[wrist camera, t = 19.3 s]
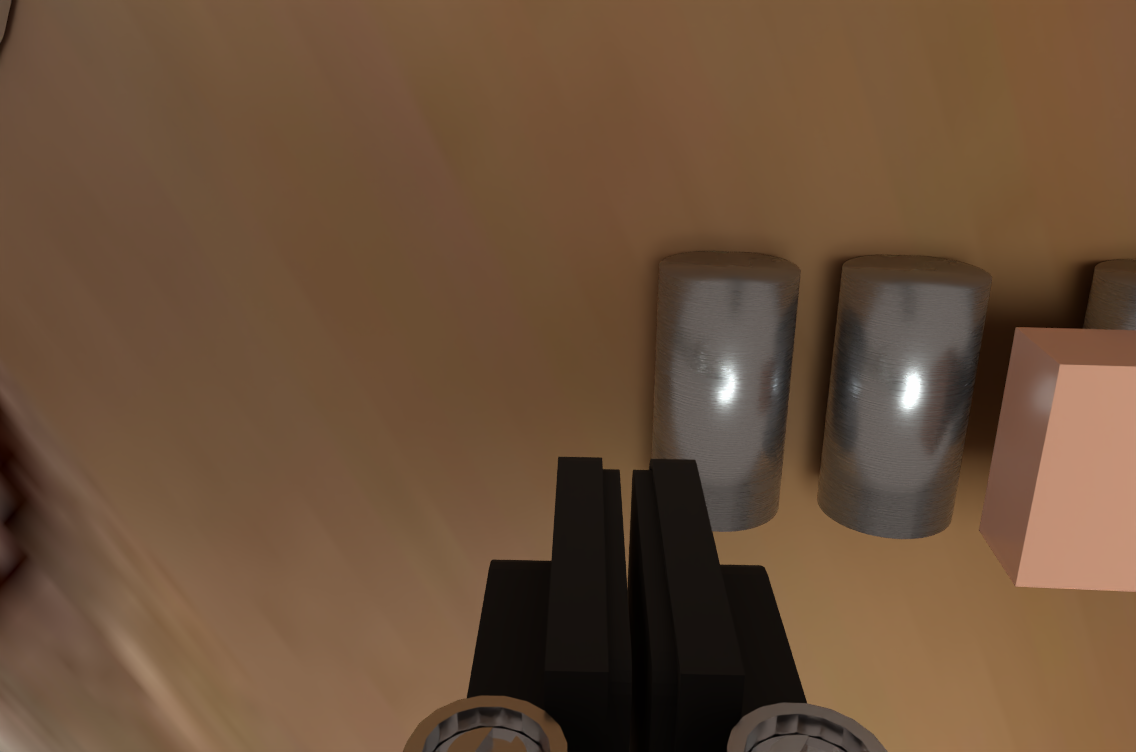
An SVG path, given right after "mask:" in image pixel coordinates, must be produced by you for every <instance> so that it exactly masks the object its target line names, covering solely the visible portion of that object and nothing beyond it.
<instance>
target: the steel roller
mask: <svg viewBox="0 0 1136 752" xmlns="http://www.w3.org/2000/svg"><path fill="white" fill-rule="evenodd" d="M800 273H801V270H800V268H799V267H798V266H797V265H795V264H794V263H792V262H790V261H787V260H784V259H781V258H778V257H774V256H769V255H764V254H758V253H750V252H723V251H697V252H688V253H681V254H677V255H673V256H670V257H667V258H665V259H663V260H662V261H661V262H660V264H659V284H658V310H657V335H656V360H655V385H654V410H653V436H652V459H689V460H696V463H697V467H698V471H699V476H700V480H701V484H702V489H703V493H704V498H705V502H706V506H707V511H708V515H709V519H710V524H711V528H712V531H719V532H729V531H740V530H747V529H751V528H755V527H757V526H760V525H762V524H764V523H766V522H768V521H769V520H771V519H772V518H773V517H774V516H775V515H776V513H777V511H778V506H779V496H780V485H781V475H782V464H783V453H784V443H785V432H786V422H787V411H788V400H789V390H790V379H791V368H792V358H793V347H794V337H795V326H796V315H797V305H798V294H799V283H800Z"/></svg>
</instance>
